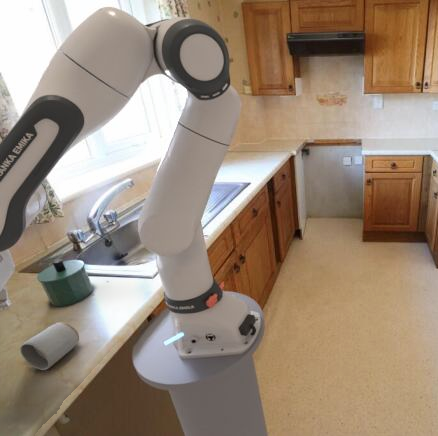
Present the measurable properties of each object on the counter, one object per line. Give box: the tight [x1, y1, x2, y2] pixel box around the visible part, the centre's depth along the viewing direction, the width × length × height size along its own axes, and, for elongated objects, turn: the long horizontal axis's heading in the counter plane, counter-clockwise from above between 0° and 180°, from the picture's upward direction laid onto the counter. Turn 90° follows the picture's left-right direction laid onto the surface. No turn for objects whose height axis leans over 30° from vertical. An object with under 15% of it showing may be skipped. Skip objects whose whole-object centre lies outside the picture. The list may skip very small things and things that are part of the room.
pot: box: [40, 267, 94, 307], centre depth 95 cm, size 10×10×8 cm
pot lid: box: [36, 258, 85, 283], centre depth 93 cm, size 11×11×4 cm
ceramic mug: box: [19, 321, 80, 371], centre depth 74 cm, size 11×8×8 cm
